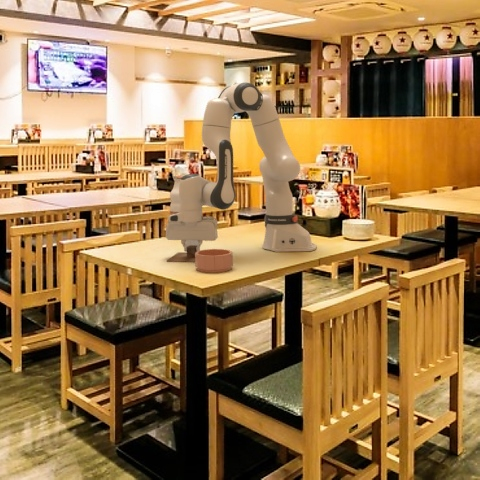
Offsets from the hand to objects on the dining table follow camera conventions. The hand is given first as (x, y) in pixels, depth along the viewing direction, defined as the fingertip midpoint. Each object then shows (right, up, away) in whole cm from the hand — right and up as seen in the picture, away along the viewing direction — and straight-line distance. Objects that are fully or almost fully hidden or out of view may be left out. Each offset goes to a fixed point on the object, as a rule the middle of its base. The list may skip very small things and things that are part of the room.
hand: (192, 251), depth 255 cm
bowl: (+9, -6, -19) cm, 22 cm away
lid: (0, -3, +1) cm, 3 cm away
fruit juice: (-9, +6, +52) cm, 54 cm away
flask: (-2, +2, +26) cm, 26 cm away
